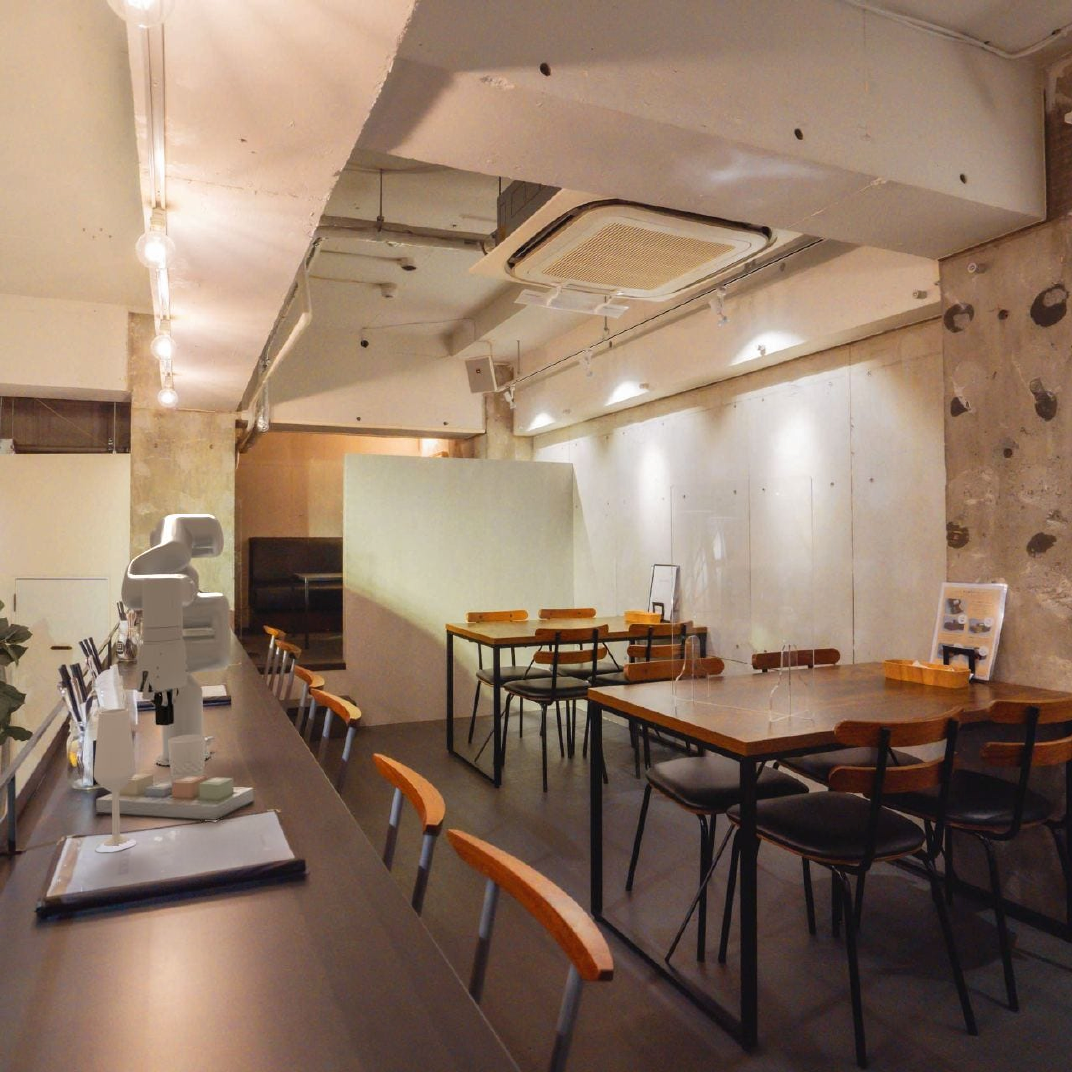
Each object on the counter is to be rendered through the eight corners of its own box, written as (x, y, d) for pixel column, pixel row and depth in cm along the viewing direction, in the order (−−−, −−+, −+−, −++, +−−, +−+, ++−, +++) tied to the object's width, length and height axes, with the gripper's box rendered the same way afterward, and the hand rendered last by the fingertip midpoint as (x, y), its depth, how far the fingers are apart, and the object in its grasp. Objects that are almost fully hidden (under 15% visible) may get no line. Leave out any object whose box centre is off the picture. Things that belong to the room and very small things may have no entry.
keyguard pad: (140, 795, 168) (140, 781, 168) (253, 802, 161) (253, 788, 161) (96, 814, 156) (96, 799, 156) (215, 822, 149) (215, 806, 149)
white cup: (191, 787, 173) (191, 742, 173) (160, 786, 175) (160, 742, 175) (213, 777, 181) (212, 734, 181) (183, 776, 182) (182, 733, 183)
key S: (135, 789, 164) (135, 772, 164) (153, 790, 163) (152, 773, 163) (118, 796, 160) (118, 778, 160) (137, 797, 158) (136, 779, 158)
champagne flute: (97, 842, 140) (95, 709, 141) (138, 836, 143) (136, 706, 143) (92, 855, 134) (90, 716, 134) (135, 848, 137) (133, 712, 137)
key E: (214, 794, 159) (214, 776, 159) (233, 795, 158) (233, 777, 158) (199, 801, 155) (199, 783, 155) (219, 802, 153) (218, 784, 154)
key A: (187, 792, 161) (187, 775, 161) (206, 793, 159) (205, 776, 160) (172, 799, 156) (171, 781, 156) (191, 800, 155) (190, 782, 155)
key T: (161, 798, 162) (161, 781, 162) (179, 799, 161) (179, 782, 161) (145, 805, 158) (145, 787, 158) (164, 806, 157) (163, 789, 157)
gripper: (173, 631, 168) (175, 716, 168) (119, 639, 154) (121, 732, 153) (203, 631, 166) (204, 717, 166) (151, 639, 152) (153, 733, 151)
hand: (164, 724), depth 160 cm, fingers closed
